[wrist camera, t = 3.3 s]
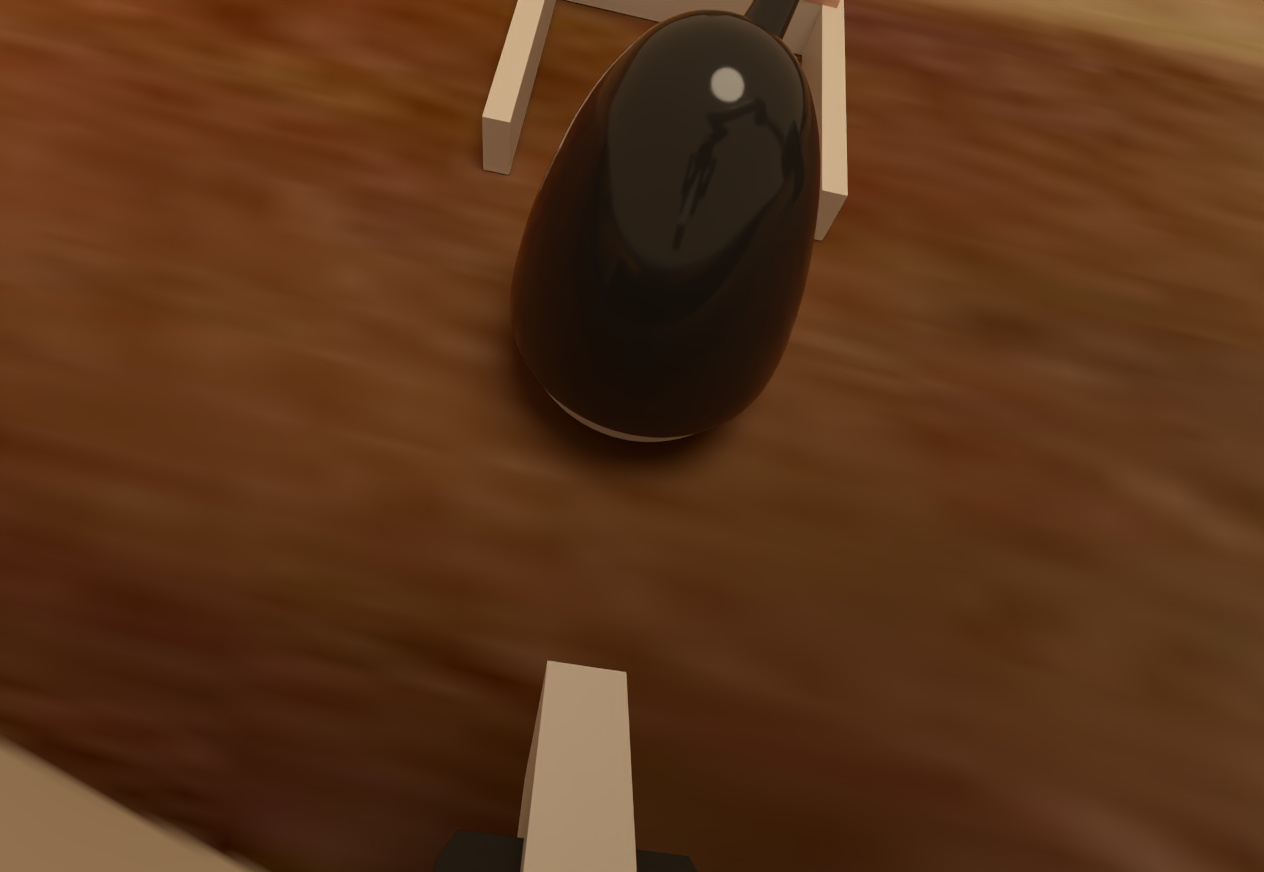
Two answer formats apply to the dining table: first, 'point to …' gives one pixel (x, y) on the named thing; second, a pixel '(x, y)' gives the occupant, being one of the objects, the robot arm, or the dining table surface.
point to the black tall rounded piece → (674, 229)
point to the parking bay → (807, 34)
